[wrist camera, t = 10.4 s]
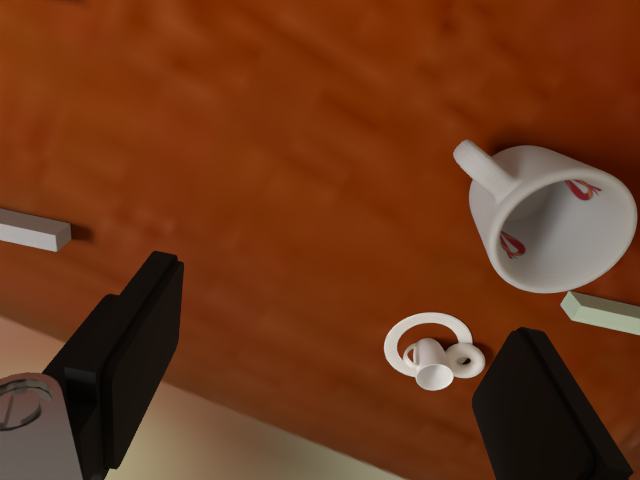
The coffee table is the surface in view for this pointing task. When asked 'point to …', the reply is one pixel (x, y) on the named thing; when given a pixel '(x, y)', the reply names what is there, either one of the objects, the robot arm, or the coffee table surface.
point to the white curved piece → (435, 353)
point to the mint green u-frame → (602, 312)
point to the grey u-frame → (33, 230)
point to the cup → (547, 216)
